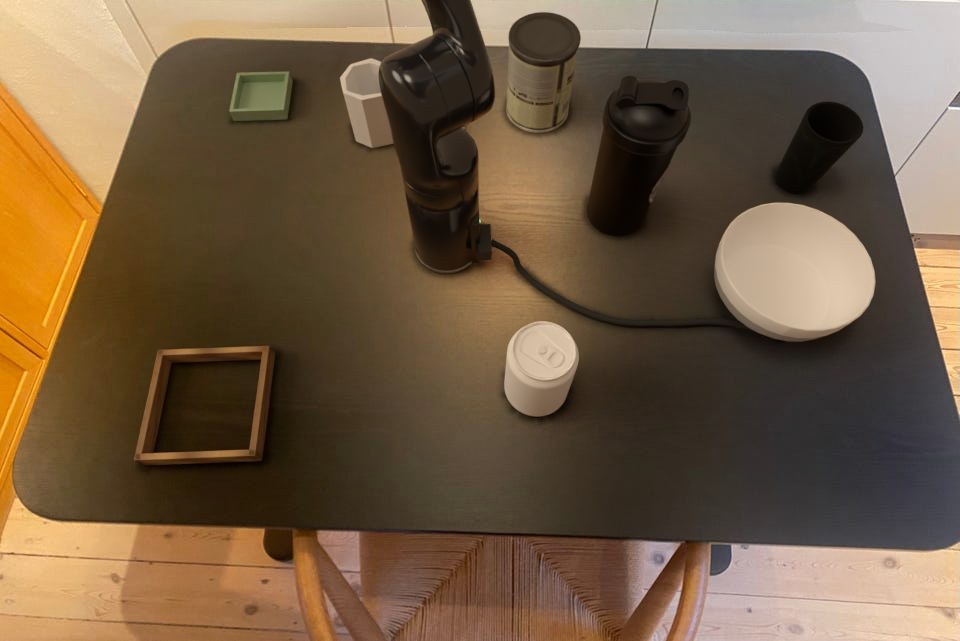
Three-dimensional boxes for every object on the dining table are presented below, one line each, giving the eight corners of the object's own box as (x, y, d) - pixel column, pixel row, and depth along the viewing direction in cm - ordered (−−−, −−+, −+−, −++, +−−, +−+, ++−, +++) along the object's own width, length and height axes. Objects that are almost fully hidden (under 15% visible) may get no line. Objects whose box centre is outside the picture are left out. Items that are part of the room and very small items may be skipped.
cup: (829, 191, 91) (875, 133, 80) (786, 206, 90) (828, 150, 79) (799, 154, 94) (840, 94, 84) (757, 168, 93) (793, 109, 82)
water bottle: (647, 246, 87) (698, 129, 66) (576, 234, 88) (605, 116, 67) (652, 191, 91) (701, 65, 71) (585, 180, 92) (614, 53, 72)
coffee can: (506, 86, 101) (509, 10, 89) (567, 88, 101) (579, 12, 88) (504, 133, 97) (507, 59, 84) (569, 134, 96) (582, 61, 84)
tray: (292, 81, 102) (289, 71, 100) (287, 119, 98) (283, 109, 96) (241, 82, 102) (236, 72, 100) (233, 121, 98) (228, 111, 96)
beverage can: (529, 347, 80) (536, 304, 69) (579, 383, 78) (595, 345, 67) (491, 391, 77) (492, 354, 66) (541, 431, 75) (551, 398, 64)
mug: (347, 146, 96) (334, 98, 87) (357, 106, 99) (345, 56, 91) (423, 151, 95) (417, 103, 86) (429, 111, 99) (424, 61, 90)
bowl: (842, 258, 86) (878, 222, 78) (834, 377, 78) (874, 349, 70) (708, 225, 88) (730, 187, 81) (688, 336, 80) (710, 306, 73)
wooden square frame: (275, 353, 80) (269, 345, 77) (262, 461, 73) (255, 455, 71) (167, 357, 79) (157, 349, 77) (144, 465, 73) (133, 460, 71)
